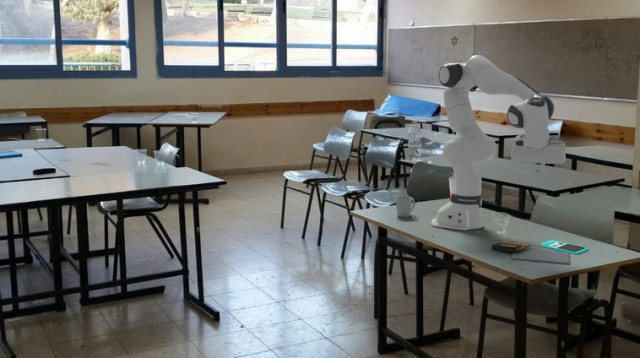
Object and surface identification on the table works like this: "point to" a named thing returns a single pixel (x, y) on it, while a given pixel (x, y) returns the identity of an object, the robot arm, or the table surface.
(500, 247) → the ammunition clip
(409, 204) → the cup
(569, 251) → the handheld game console
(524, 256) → the rubber mat
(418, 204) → the table surface
